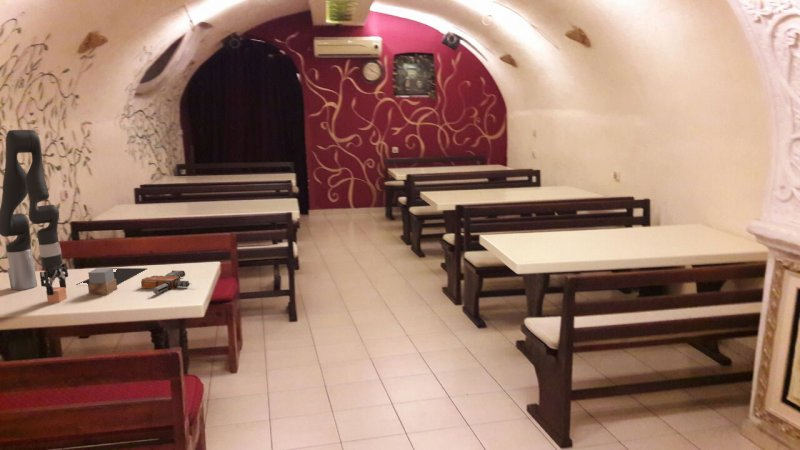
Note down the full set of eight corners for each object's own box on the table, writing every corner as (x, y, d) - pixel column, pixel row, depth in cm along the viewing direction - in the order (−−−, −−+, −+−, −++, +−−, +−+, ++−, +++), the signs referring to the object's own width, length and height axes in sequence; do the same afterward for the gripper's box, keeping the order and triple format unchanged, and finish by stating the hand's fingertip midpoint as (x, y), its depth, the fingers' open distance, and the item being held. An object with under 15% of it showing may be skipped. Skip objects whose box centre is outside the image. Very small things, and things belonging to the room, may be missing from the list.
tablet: (110, 268, 290) (148, 268, 287) (110, 269, 290) (148, 269, 288) (74, 285, 264) (115, 285, 261) (74, 286, 264) (116, 287, 261)
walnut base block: (89, 295, 249) (87, 284, 248) (99, 289, 257) (98, 278, 256) (107, 295, 249) (106, 284, 248) (117, 289, 257) (115, 278, 256)
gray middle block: (89, 284, 249) (88, 272, 248) (98, 279, 256) (97, 268, 255) (106, 283, 249) (104, 272, 247) (114, 278, 255) (112, 267, 254)
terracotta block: (48, 302, 241) (46, 291, 240) (55, 298, 246) (53, 287, 245) (59, 302, 241) (57, 291, 240) (67, 298, 246) (65, 287, 245)
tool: (166, 268, 275) (125, 285, 246) (219, 270, 270) (183, 287, 241) (166, 277, 276) (126, 295, 247) (219, 278, 271) (184, 297, 242)
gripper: (52, 249, 247) (58, 286, 250) (30, 258, 233) (37, 297, 236) (70, 249, 246) (75, 286, 250) (48, 258, 232) (55, 297, 236)
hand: (57, 291), depth 243 cm, fingers open, 8 cm apart
